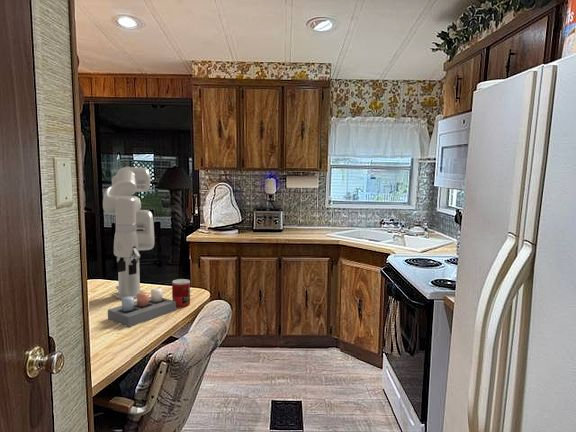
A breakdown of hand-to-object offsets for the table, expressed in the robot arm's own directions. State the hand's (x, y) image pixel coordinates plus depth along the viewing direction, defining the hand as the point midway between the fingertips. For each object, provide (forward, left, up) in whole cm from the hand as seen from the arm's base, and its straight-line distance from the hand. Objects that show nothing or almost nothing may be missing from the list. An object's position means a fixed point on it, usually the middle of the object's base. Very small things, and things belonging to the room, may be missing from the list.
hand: (127, 272), depth 153 cm
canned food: (+3, +25, -20) cm, 32 cm away
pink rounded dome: (0, +7, -15) cm, 17 cm away
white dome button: (0, +14, -15) cm, 21 cm away
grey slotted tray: (0, +7, -20) cm, 21 cm away
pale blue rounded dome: (0, 0, -15) cm, 15 cm away
